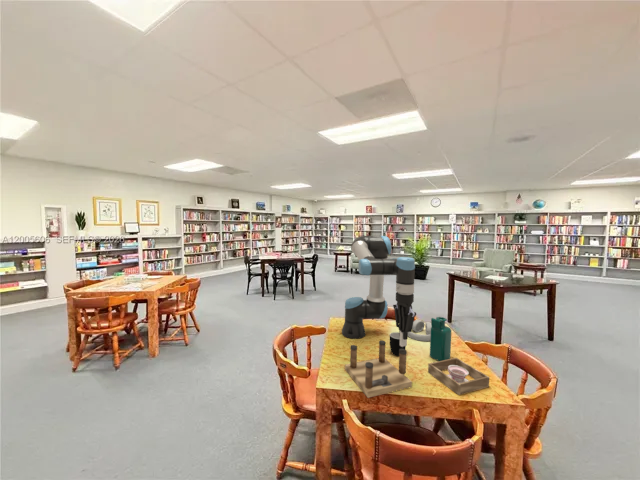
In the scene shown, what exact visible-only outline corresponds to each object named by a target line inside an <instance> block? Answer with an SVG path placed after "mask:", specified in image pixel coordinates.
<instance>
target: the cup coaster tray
mask: <svg viewBox="0 0 640 480" xmlns="http://www.w3.org/2000/svg"><path fill="white" fill-rule="evenodd" d="M450 365H457V366H460V367H463V368H465V369H466V370H467V371H468V372H469V374H468V375H467V376H469V377H471V378H472V380H469V381H466V382H463V383H458V382H456V381H455V380H453V379H452V378H450V377H449V376H448V374H446V373H445V372H443V371H445V370H448V366H450ZM427 372H428V373H427V374H430V375H431V376H432V377H433V378H435V379H436V380H437V381H439V382H440V383H441V384H443V385H444V386H446V387H447V388H448V389H450V390H451V391H452V392H454V393H455V394H457V396H460V395H465V394H468V393H472V392H474V391H479V390H482V389H485V388H489V387H490V376H488V375H487V374H485V373H484V372H481V370H478V369H476V368H475V367H473V366H472V365H469V364H468V363H466V362H465V361H463V360H461V359H459V358H458V357H452V358H450V359H447V360H443V361H438V360H437V361H434V362H429V363H428V370H427Z"/></svg>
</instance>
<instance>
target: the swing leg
mask: <svg viewBox="0 0 640 480" xmlns="http://www.w3.org/2000/svg"><path fill="white" fill-rule="evenodd" d="M365 366H366V372H365V387H367V388H372V386H376V385H380V384H387V383H388V377H387V376H386V375H383V376H382V379H378V380H373V363H371V362H366V363H365Z"/></svg>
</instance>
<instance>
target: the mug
mask: <svg viewBox="0 0 640 480" xmlns="http://www.w3.org/2000/svg"><path fill="white" fill-rule="evenodd" d="M389 348H390V352H391V354H392V355H393V356H397V357H399V349H405V350H406V348H407V346H400V336H399V332H397V331H395V332H391V333H389Z"/></svg>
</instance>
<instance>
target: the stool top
mask: <svg viewBox="0 0 640 480" xmlns="http://www.w3.org/2000/svg"><path fill="white" fill-rule="evenodd" d="M386 343H387V342H386V341H385V340H381V339H380V340H379V341H378V345H379V346H378V358H372V359H368V360H362V361H358V359H357V357H358V355H357V354H358V346H357V345H356V344H351V345H350V362H349V363H347V364H344V370H345V372H346V373H347V374H348V375H349V377H351V379H352V380H353V381H354V382H355V384H356V385H357V387H359V389H360V390H361V391H362V393H363V394H364V396H366V398H367V399H369V398H373V397H376V396H381V395H385V394H389V393H388V392H390V393H393V392H392V391H394V392H397V391H396V390H398V391H401V390H400V389H402V390H405V389H404V388H406V389H409V387H410V388H412V387H413V381H412V380H411V379H410V378H409V377H407V376H406V375H405V374H400V373H399V368H397V367H396V366H394V364H392V363H391V361H388V360H387V358H386ZM366 362H371V363H373V380H378V379H382V376H383V375H386V376H387V377H388V383H387V384H380V385H376V386H372V388H367V387H365V372H366V366H365V363H366Z"/></svg>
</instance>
